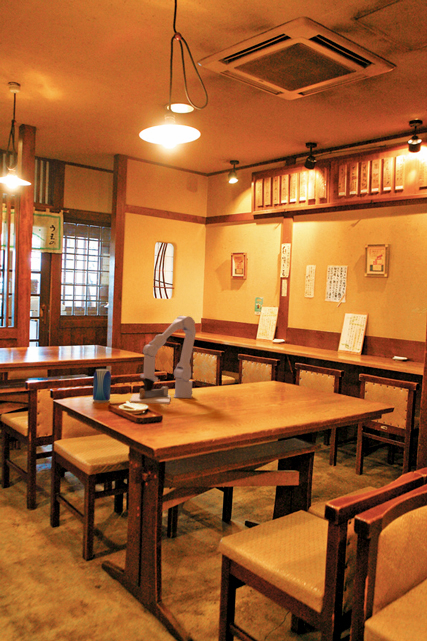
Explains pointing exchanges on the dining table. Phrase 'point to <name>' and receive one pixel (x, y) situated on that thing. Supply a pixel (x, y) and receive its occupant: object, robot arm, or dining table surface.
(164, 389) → the lever
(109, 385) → the beer can
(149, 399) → the board
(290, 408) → the dining table surface
